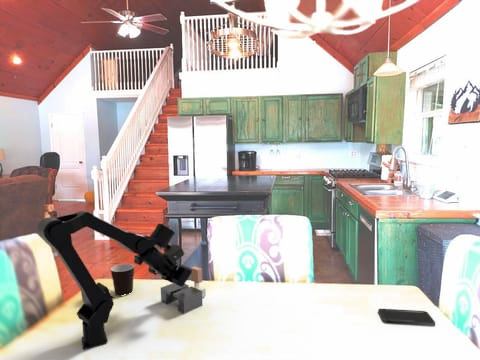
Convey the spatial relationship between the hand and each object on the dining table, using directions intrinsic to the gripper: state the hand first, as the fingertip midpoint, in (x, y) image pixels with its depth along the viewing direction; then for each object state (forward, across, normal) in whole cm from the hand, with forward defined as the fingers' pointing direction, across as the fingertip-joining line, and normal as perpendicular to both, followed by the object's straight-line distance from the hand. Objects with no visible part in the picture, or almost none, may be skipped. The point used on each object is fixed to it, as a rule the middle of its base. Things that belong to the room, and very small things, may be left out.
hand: (183, 282), depth 119 cm
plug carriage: (+7, 0, +3) cm, 8 cm away
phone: (+33, -62, -22) cm, 74 cm away
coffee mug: (-1, +26, +12) cm, 29 cm away
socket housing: (+4, 0, +6) cm, 8 cm away
